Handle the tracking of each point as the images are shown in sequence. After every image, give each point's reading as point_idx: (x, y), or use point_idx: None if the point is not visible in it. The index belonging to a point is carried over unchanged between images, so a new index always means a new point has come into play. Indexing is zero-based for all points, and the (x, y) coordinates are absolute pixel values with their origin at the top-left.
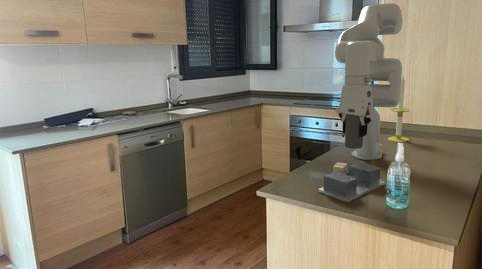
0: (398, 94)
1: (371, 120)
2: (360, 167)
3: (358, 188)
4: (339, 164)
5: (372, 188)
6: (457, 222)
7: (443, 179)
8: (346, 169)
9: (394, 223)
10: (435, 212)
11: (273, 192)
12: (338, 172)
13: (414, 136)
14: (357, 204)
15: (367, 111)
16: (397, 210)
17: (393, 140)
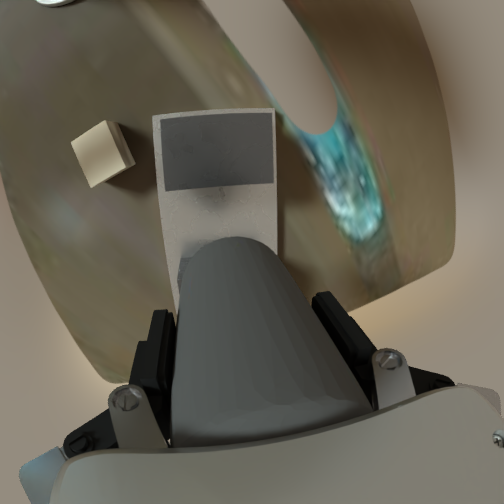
0: None
1: (437, 380)
2: (209, 166)
3: (250, 222)
4: (91, 152)
5: (276, 184)
6: (452, 203)
7: None
8: (115, 130)
9: (386, 292)
10: (425, 190)
11: (126, 376)
12: (115, 174)
13: None
14: None
15: (437, 435)
16: (375, 242)
17: None
